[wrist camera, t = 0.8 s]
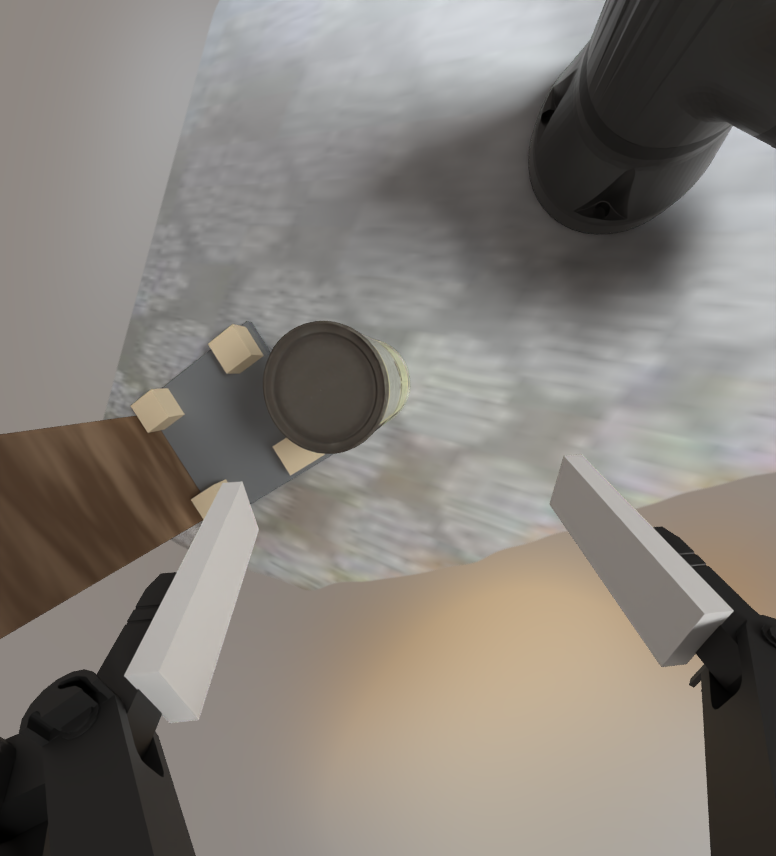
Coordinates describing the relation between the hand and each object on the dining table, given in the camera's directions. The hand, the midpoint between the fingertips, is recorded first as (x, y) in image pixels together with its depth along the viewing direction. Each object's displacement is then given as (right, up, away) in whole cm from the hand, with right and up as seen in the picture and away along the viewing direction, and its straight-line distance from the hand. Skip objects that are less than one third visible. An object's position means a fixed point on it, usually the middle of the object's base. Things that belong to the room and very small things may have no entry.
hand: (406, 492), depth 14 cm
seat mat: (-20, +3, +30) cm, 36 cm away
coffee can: (-3, +8, +26) cm, 27 cm away
